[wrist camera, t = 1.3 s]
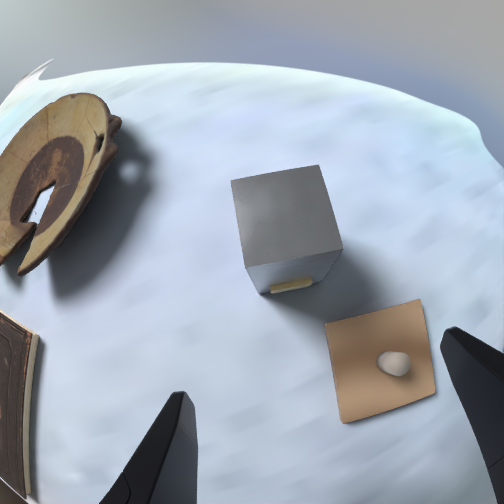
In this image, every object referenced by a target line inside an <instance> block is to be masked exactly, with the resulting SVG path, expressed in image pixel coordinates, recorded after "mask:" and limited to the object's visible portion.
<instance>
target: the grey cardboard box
mask: <svg viewBox="0 0 504 504" xmlns="http://www.w3.org/2000/svg"><path fill="white" fill-rule="evenodd" d="M231 186H232V192H233V198H234V204H235V210H236V216H237V222H238V228H239V234H240V240H241V246H242V252H243V258H244V264H245V269H246V270H247V272H248V274H249V276H250V278H251V280H252V282H253V284H254V286H255V288H256V290H257V292H258V294H261V293H266V292H271V293H272V294H273V293H279V292H284V291H289V290H294V289H299V288H304V287H309V286H311V284H312V283H317V282H321V281H322V280H323V278H324V277H325V275H326V274H327V272H328V271H329V269H330V268H331V267H332V265H333V264H334V262H335V261H336V259H337V258H338V256H339V255H340V253H341V252H342V250H343V245H342V241H341V237H340V234H339V230H338V226H337V223H336V219H335V216H334V212H333V209H332V205H331V202H330V199H329V195H328V192H327V189H326V186H325V182H324V179H323V176H322V173H321V170H320V167H319V165H313V166H307V167H301V168H295V169H289V170H283V171H277V172H272V173H266V174H261V175H256V176H251V177H246V178H241V179H236V180H231Z"/></svg>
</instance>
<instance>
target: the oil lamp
mask: <svg viewBox="0 0 504 504" xmlns="http://www.w3.org/2000/svg"><path fill="white" fill-rule="evenodd" d="M121 124H122V120H121V118H120V117H118V116H115V115H111V113H110V110H109V108H108V106H107V104H106V103H105V102H104V101H103V100H102V99H101V98H99V97H98V96H96V95H94V94H90V93H76V94H69V95H66V96H63V97H61V98H59V99H58V100H57V101H55V102H53V103H50V104H48V105H47V106H45V107H44V108H43V109H41V110H40V111H39V112H38V113H36V114H35V115H34V116H33V117H32V118H31V119H30V120H29V121H27V123H25V125H23V127H22V128H21V129H20V130H19V132H18V133H17V134H16V135H15V136H14V137H13V139H12V140H11V141H10V142H9V144H8V146H7V147H6V148H5V150H4V151H3V153H2V154H1V156H0V266H1V265H2V264H3V263H4V262H5V261H6V260H7V259H8V257H10V256H11V255H12V254H13V253H14V252H15V251H16V250H17V249H18V248H19V247H21V245H22V243H24V241H25V240H26V239H27V238H28V237H29V236H30V234H31V233H32V232H33V231H34V229H35V228H36V226H37V223H35V222H28V223H22V222H23V220H24V219H25V218H26V217H27V215H28V214H29V211H30V210H31V208H32V206H33V204H34V202H35V201H36V198H37V196H38V195H39V193H40V192H41V191H42V190H43V189H46V188H47V187H48V186H50V185H51V184H53V183H54V182H56V184H55V187H54V189H53V192H52V194H51V195H50V199H49V202H48V204H47V206H46V208H45V210H44V212H43V215H42V217H41V219H40V223H39V224H38V227H37V229H36V231H35V234H34V237H33V240H32V242H31V245H30V249H29V251H28V252H27V254H26V256H25V258H24V260H23V262H22V264H21V265H20V267H19V268H18V271H17V275H18V276H19V277H21V276H23V275H25V274H27V273H29V272H30V271H32V270H33V269H35V268H36V267H37V266H38V265H40V263H41V262H42V261H44V260H45V259H46V258H47V257H48V256H49V255H50V254H51V253H52V252H53V251H54V250H55V249H56V247H57V246H58V245H59V244H60V243H61V242H62V240H63V239H64V238H65V236H66V235H67V234H68V232H69V231H70V230H71V228H72V227H73V225H74V224H75V222H76V221H77V219H78V218H79V216H80V215H81V213H82V212H83V210H84V209H85V207H86V206H87V204H88V202H89V201H90V199H91V198H92V196H93V194H94V192H95V191H96V189H97V187H98V185H99V182H100V180H101V178H102V176H103V174H104V172H105V170H106V169H107V167H108V165H109V164H110V163H111V162H112V161H113V160H114V158H115V157H116V155H117V154H118V150H119V147H118V145H117V144H115V143H114V137H115V135H116V133H117V131H118V130H119V129H120V127H121ZM103 140H104V141H103ZM102 142H103V144H102ZM101 144H102V147H101ZM100 147H101V149H100ZM35 215H36V212H35Z"/></svg>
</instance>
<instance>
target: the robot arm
mask: <svg viewBox="0 0 504 504" xmlns="http://www.w3.org/2000/svg"><path fill="white" fill-rule="evenodd" d="M440 349H441V353H442V355H443V358H444V361H445V363H446V366H447V369H448V372H449V375H450V377H451V380H452V383H453V385H454V388H455V390H456V392H457V394H458V396H459V399H460V401H461V403H462V405H463V408H464V410H465V412H466V415H467V417H468V419H469V422H470V424H471V426H472V429H473V431H474V434H475V436H476V439H477V442H478V444H479V447H480V450H481V452H482V455H483V458H484V461H485V464H486V467H487V469H488V473H489V476H490V479H491V482H492V486H493V489H494V492H495V496H496V499H497V503H498V504H504V354H503V353H501V352H500V351H498V350H496V349H495V348H493V347H491V346H489V345H488V344H486V343H484V342H483V341H481V340H479V339H477V338H476V337H474V336H472V335H470V334H469V333H467V332H465V331H463V330H462V329H460V328H458V327H455V326H454V327H451V328H448V329H446V330H445V332H444V335H443V338H442V341H441V344H440ZM197 467H198V441H197V430H196V417H195V407H194V404H193V402H192V401H191V399H190V398H189V396H188V395H187V393H186V392H185V391H178V392H173V393H172V394H171V396H170V397H169V399H168V400H167V402H166V404H165V405H164V407H163V408H162V410H161V412H160V413H159V415H158V416H157V418H156V419H155V421H154V423H153V424H152V426H151V427H150V429H149V430H148V432H147V434H146V435H145V437H144V438H143V440H142V441H141V443H140V445H139V446H138V448H137V449H136V451H135V452H134V454H133V456H132V457H131V459H130V460H129V462H128V463H127V465H126V466H125V468H124V470H123V472H122V473H121V474H120V476H119V477H118V479H117V480H116V482H115V483H114V485H113V486H112V488H111V489H110V490H109V492H108V493H107V494H106V495H105V497H104V498H103V499H102V500H101V502H100V503H99V504H197Z"/></svg>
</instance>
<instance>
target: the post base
mask: <svg viewBox="0 0 504 504" xmlns="http://www.w3.org/2000/svg"><path fill="white" fill-rule="evenodd" d="M324 327H325V332H326V337H327V343H328V348H329V354H330V359H331V365H332V371H333V377H334V382H335V389H336V395H337V401H338V408H339V414H340V420H341V421H342V423H343V424H344V423H348V422H351V421H355V420H359V419H362V418H366V417H369V416H372V415H376V414H379V413H382V412H385V411H388V410H391V409H394V408H397V407H400V406H403V405H406V404H408V403H411V402H414V401H416V400H419V399H421V398H424V397H426V396H429V395H431V394H434V393H435V384H434V375H433V367H432V360H431V353H430V347H429V341H428V335H427V330H426V324H425V319H424V314H423V309H422V305H421V300H420V299H417V300H414V301H410V302H407V303H404V304H400V305H396V306H393V307H389V308H385V309H382V310H378V311H374V312H370V313H366V314H362V315H358V316H354V317H350V318H346V319H342V320H338V321H333V322H329V323H325V324H324Z"/></svg>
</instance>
